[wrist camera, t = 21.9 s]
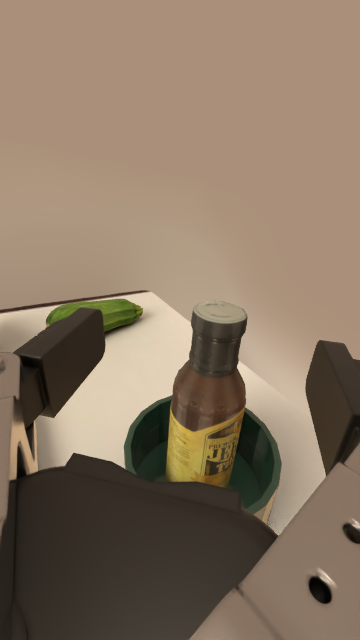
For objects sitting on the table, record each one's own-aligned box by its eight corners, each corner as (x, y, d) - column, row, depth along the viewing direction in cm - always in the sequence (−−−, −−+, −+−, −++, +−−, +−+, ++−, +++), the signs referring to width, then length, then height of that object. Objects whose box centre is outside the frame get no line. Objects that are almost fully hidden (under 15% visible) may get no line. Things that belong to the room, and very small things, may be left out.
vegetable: (41, 301, 50) (136, 280, 63) (39, 327, 55) (128, 303, 68) (59, 332, 48) (155, 304, 60) (55, 357, 53) (145, 326, 65)
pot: (234, 429, 38) (241, 386, 35) (295, 553, 26) (315, 504, 23) (123, 445, 35) (120, 400, 32) (132, 595, 23) (130, 545, 20)
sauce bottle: (206, 536, 26) (237, 343, 17) (152, 494, 29) (155, 313, 20) (237, 481, 31) (275, 309, 22) (188, 450, 34) (203, 289, 25)
